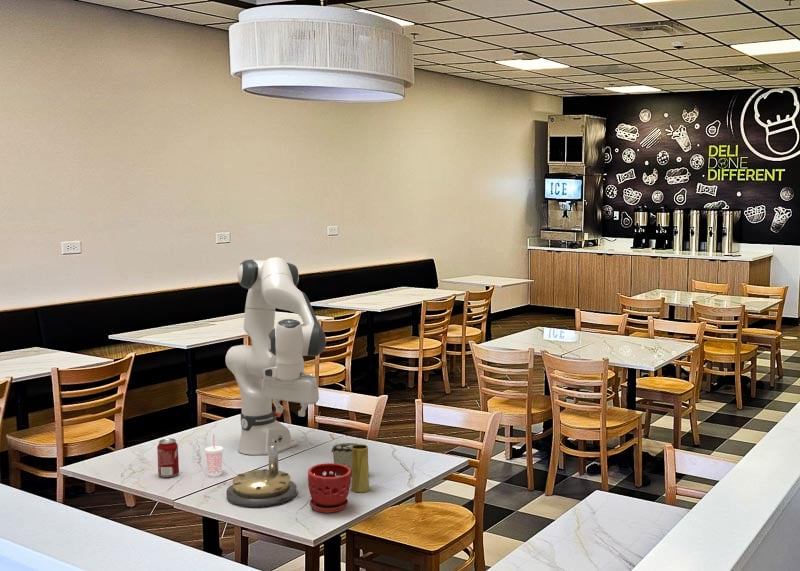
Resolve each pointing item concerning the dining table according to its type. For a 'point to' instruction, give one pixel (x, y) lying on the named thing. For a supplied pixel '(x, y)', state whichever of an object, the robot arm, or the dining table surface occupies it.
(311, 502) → the plant pot
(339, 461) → the food container
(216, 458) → the beverage cup
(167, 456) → the soda can
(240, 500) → the grey round ring
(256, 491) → the tan disc with rod
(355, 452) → the vase
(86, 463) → the dining table surface
